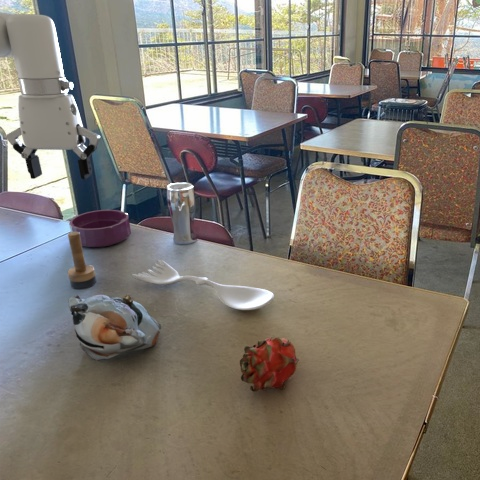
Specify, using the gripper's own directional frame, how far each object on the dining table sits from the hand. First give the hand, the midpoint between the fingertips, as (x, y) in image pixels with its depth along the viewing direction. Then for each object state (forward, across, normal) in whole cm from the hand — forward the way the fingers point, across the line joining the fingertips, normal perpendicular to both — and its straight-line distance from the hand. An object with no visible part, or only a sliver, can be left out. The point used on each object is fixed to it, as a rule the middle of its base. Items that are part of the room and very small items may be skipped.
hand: (61, 177), depth 96 cm
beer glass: (+24, -17, -24) cm, 38 cm away
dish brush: (+24, 0, 0) cm, 24 cm away
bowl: (+24, +5, -25) cm, 35 cm away
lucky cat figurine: (+24, -16, +23) cm, 37 cm away
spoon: (+24, -27, +4) cm, 37 cm away
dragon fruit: (+24, -43, +32) cm, 59 cm away
